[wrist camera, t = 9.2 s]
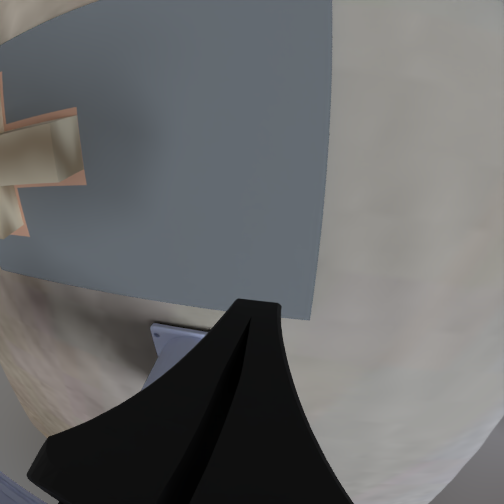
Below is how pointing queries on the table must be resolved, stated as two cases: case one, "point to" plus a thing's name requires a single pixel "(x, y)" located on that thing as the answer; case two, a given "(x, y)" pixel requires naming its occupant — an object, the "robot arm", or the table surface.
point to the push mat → (178, 149)
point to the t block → (35, 161)
